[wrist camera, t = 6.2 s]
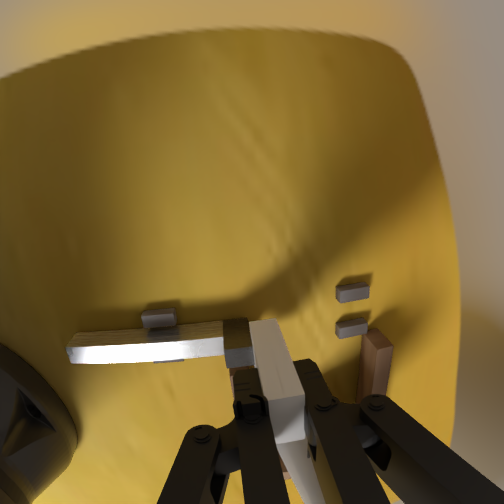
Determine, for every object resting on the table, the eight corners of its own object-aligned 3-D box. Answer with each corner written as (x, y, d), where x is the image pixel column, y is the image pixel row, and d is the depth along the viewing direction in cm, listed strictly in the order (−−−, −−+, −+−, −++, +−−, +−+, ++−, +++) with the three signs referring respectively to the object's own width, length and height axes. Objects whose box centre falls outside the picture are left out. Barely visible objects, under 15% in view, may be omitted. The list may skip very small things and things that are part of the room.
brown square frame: (193, 467, 23) (193, 488, 21) (143, 310, 19) (134, 329, 16) (361, 440, 24) (371, 458, 22) (380, 279, 20) (398, 293, 17)
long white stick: (81, 347, 19) (63, 375, 16) (76, 332, 19) (56, 359, 15) (248, 334, 20) (254, 364, 16) (247, 317, 19) (252, 346, 16)
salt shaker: (280, 385, 21) (329, 548, 9) (352, 387, 22) (428, 521, 10) (263, 438, 23) (292, 579, 10) (328, 438, 23) (378, 561, 11)
